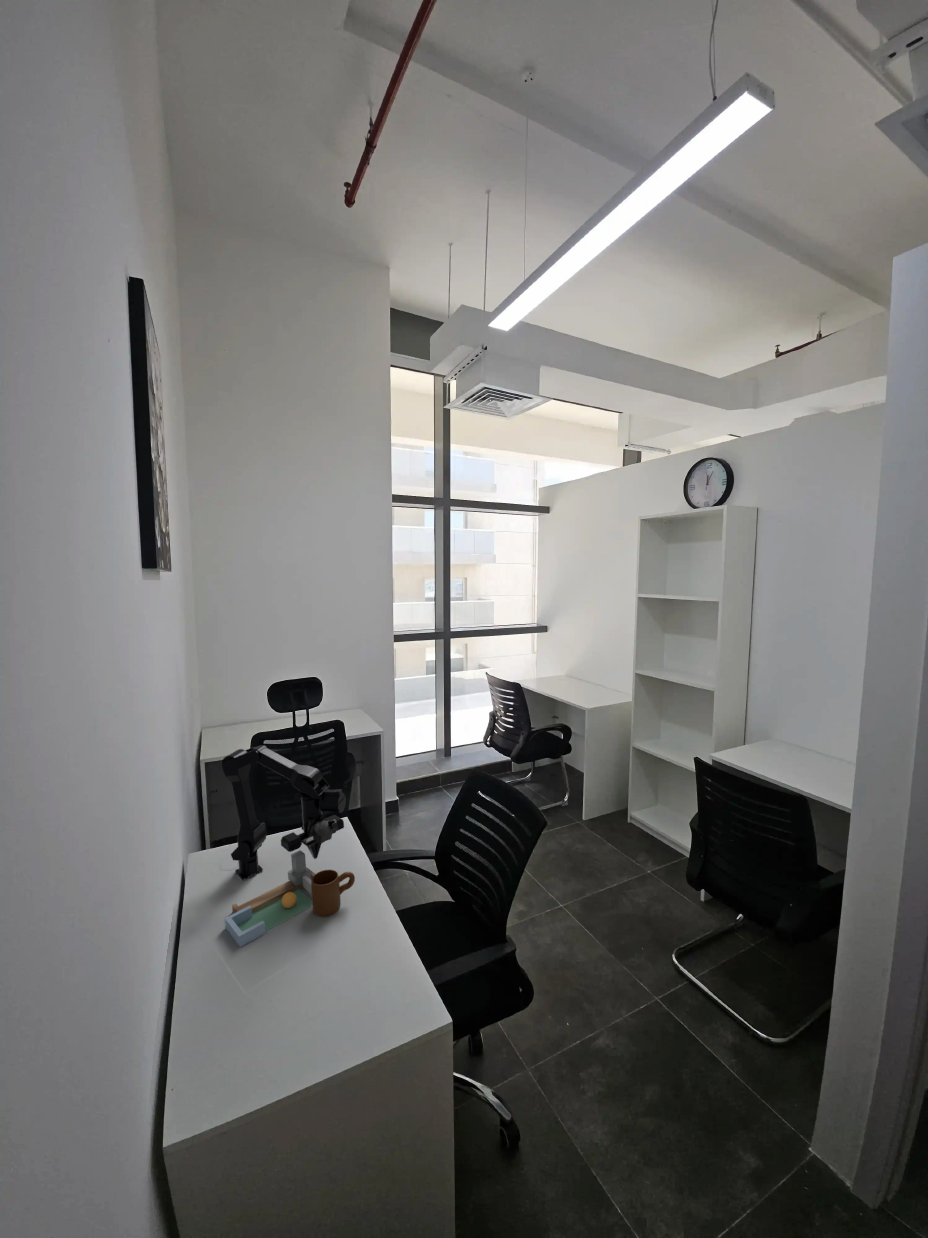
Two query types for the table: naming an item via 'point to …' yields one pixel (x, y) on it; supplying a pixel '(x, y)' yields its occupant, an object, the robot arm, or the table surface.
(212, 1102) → the table surface
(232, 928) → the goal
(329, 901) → the mug
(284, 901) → the ball
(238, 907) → the rail
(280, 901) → the pitch mat
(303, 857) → the kicker
